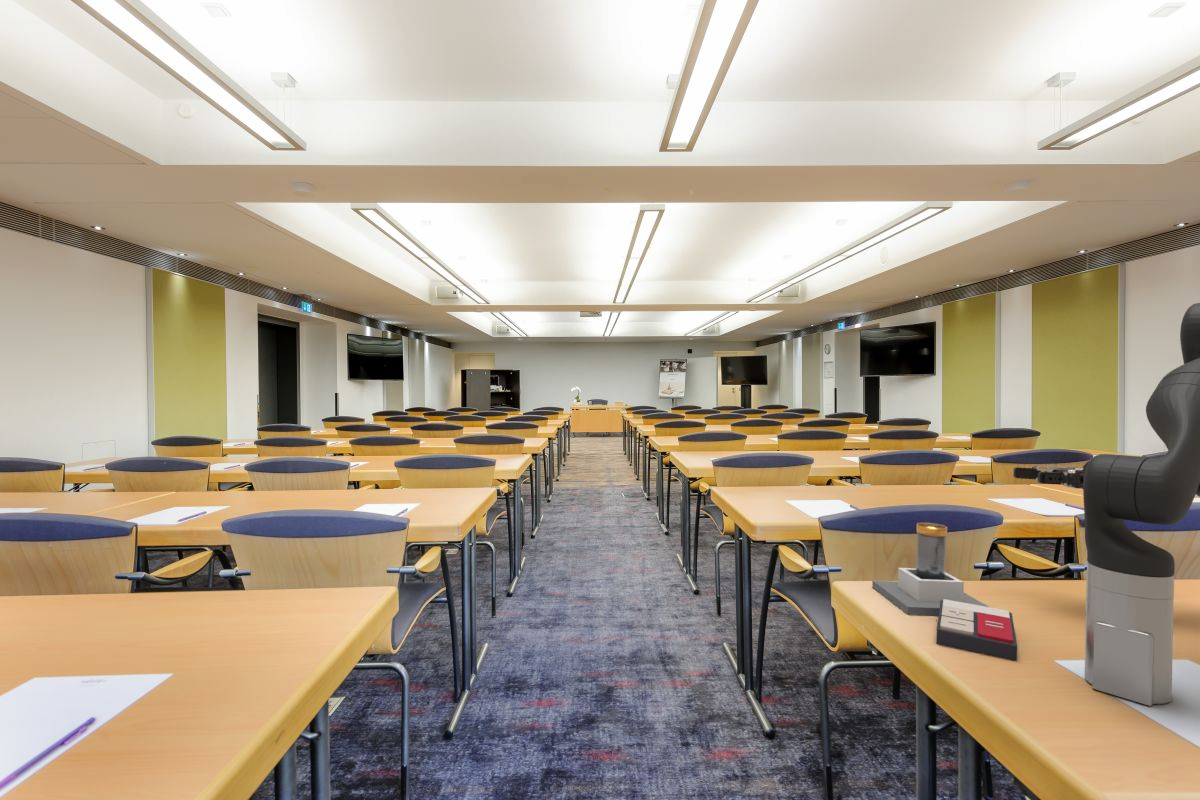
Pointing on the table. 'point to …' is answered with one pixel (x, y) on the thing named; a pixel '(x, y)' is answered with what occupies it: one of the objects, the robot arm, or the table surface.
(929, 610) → the duct collar
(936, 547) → the lidded canister
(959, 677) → the table surface
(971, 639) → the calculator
